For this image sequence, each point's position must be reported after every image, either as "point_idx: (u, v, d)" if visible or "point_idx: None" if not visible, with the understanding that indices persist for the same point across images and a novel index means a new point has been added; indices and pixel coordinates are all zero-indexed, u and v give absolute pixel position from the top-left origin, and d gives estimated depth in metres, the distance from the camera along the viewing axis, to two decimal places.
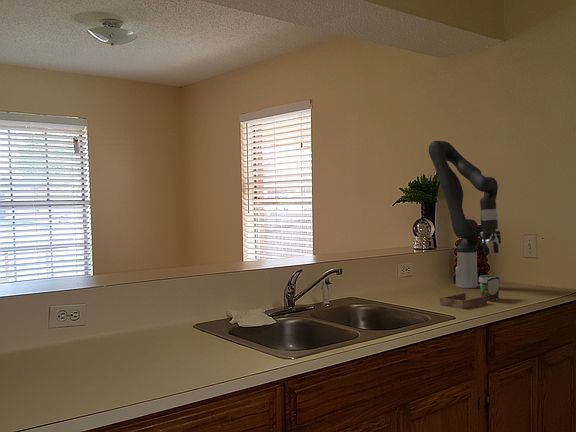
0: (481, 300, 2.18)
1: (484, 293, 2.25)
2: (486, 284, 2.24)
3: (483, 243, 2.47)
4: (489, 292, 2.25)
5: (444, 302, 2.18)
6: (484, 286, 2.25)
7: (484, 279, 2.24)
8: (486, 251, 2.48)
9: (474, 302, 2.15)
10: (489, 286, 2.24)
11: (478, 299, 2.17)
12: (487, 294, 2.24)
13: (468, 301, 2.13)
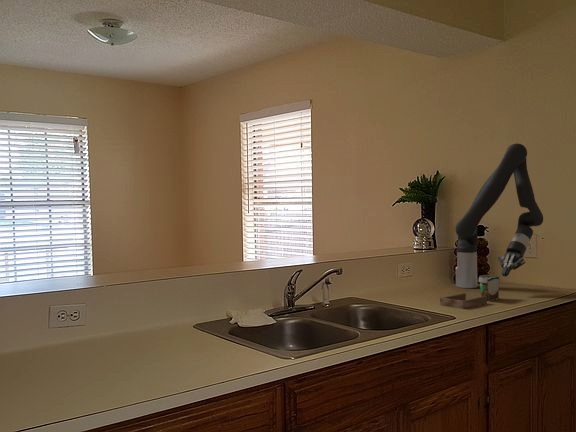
0: (481, 300, 2.18)
1: (484, 293, 2.25)
2: (486, 284, 2.24)
3: (515, 267, 2.37)
4: (489, 292, 2.25)
5: (444, 302, 2.18)
6: (484, 286, 2.25)
7: (484, 279, 2.24)
8: None
9: (474, 302, 2.15)
10: (489, 286, 2.24)
11: (478, 299, 2.17)
12: (487, 294, 2.24)
13: (468, 301, 2.13)
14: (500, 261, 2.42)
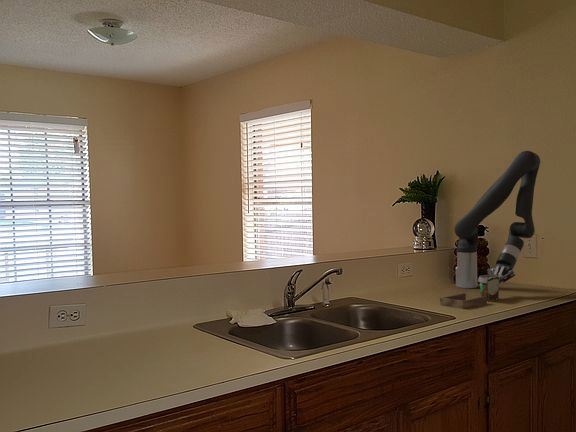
0: (481, 300, 2.18)
1: (484, 293, 2.25)
2: (486, 284, 2.24)
3: (505, 280, 2.32)
4: (489, 292, 2.25)
5: (444, 302, 2.18)
6: (484, 286, 2.25)
7: (484, 279, 2.24)
8: None
9: (474, 302, 2.15)
10: (488, 286, 2.24)
11: (478, 299, 2.17)
12: (487, 294, 2.24)
13: (468, 301, 2.13)
14: (490, 273, 2.37)
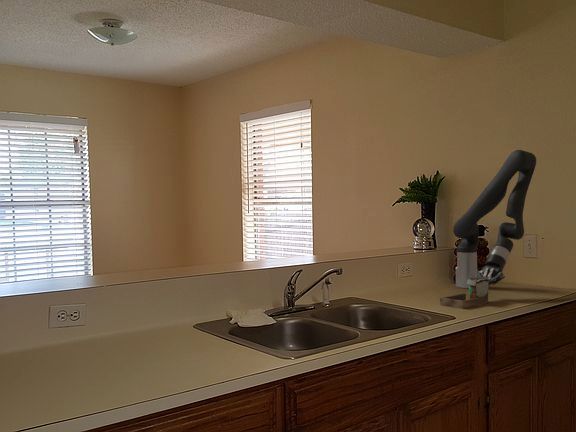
0: (481, 300, 2.18)
1: (472, 296, 2.20)
2: (474, 287, 2.18)
3: (494, 282, 2.26)
4: (478, 295, 2.19)
5: (444, 302, 2.18)
6: (473, 288, 2.19)
7: (472, 281, 2.18)
8: None
9: (474, 302, 2.15)
10: (477, 289, 2.18)
11: (478, 299, 2.17)
12: (475, 297, 2.18)
13: (468, 301, 2.13)
14: (479, 275, 2.32)
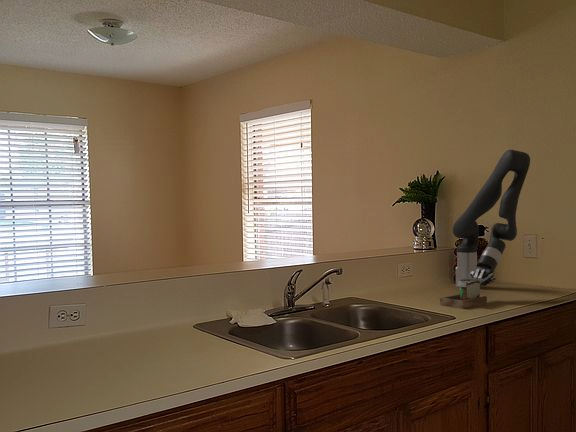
0: (481, 300, 2.18)
1: (463, 297, 2.17)
2: (465, 288, 2.15)
3: (485, 284, 2.23)
4: (468, 296, 2.16)
5: (444, 302, 2.18)
6: (463, 290, 2.16)
7: (463, 283, 2.15)
8: None
9: (474, 302, 2.15)
10: (468, 290, 2.15)
11: (478, 299, 2.17)
12: (466, 299, 2.15)
13: (468, 301, 2.13)
14: (469, 276, 2.29)
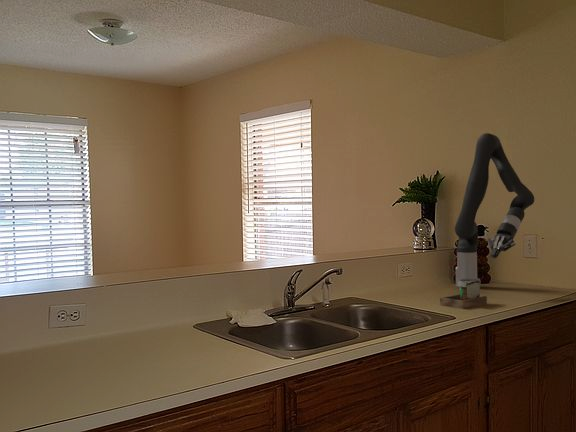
0: (481, 300, 2.18)
1: (463, 297, 2.17)
2: (465, 288, 2.15)
3: (505, 249, 2.32)
4: (468, 296, 2.16)
5: (444, 302, 2.18)
6: (463, 290, 2.16)
7: (463, 283, 2.15)
8: None
9: (474, 302, 2.15)
10: (468, 290, 2.15)
11: (478, 299, 2.17)
12: (466, 299, 2.15)
13: (468, 301, 2.13)
14: (490, 243, 2.38)
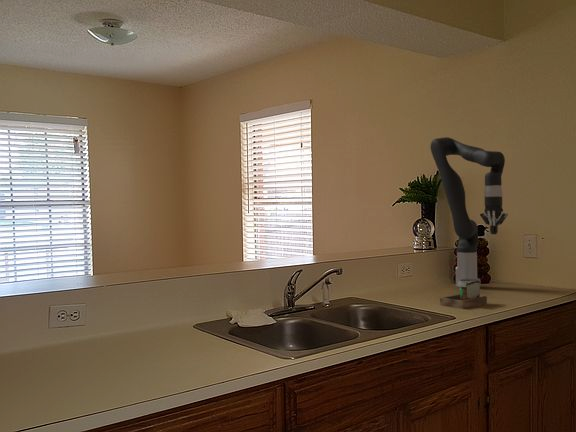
0: (481, 300, 2.18)
1: (463, 297, 2.17)
2: (465, 288, 2.15)
3: (501, 222, 2.39)
4: (468, 296, 2.16)
5: (444, 302, 2.18)
6: (463, 290, 2.16)
7: (463, 283, 2.15)
8: None
9: (474, 302, 2.15)
10: (468, 290, 2.15)
11: (478, 299, 2.17)
12: (466, 299, 2.15)
13: (468, 301, 2.13)
14: (484, 219, 2.44)
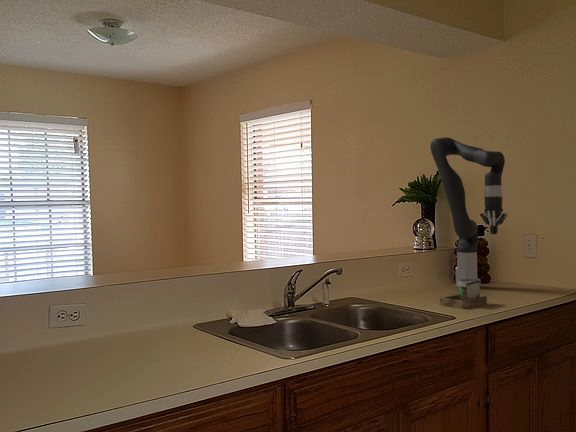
0: (481, 300, 2.18)
1: (463, 297, 2.17)
2: (465, 288, 2.15)
3: (501, 222, 2.39)
4: (468, 296, 2.16)
5: (444, 302, 2.18)
6: (463, 290, 2.16)
7: (463, 283, 2.15)
8: None
9: (474, 302, 2.15)
10: (468, 290, 2.15)
11: (478, 299, 2.17)
12: (466, 299, 2.15)
13: (468, 301, 2.13)
14: (484, 219, 2.44)
